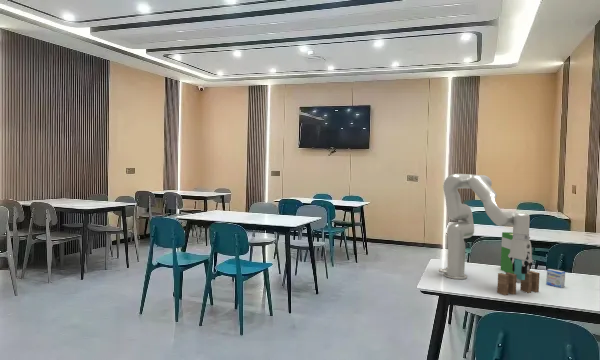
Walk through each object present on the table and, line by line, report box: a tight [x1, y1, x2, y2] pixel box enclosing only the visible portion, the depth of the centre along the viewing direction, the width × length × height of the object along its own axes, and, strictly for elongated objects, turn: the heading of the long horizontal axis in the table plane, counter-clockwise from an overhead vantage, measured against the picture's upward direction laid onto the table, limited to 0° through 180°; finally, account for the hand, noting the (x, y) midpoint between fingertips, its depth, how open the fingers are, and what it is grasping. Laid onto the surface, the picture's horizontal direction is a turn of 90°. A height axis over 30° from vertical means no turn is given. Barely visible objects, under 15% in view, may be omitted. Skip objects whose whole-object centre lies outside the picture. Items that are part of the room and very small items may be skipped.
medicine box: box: [545, 268, 566, 289], centre depth 244 cm, size 8×4×9 cm, turn 36°
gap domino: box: [514, 259, 525, 280], centre depth 227 cm, size 2×5×10 cm, turn 20°
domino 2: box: [505, 272, 517, 295], centre depth 226 cm, size 2×5×10 cm, turn 21°
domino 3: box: [519, 272, 532, 294], centre depth 229 cm, size 2×5×10 cm, turn 20°
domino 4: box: [529, 270, 541, 293], centre depth 231 cm, size 2×5×10 cm, turn 20°
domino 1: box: [496, 272, 509, 296], centre depth 224 cm, size 2×5×10 cm, turn 21°
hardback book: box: [500, 231, 514, 274], centre depth 271 cm, size 18×7×24 cm, turn 3°
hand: (519, 272), depth 227 cm, fingers closed on gap domino, 4 cm apart
